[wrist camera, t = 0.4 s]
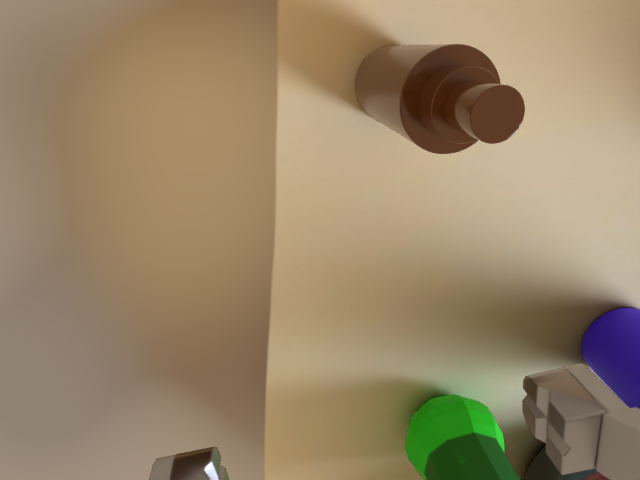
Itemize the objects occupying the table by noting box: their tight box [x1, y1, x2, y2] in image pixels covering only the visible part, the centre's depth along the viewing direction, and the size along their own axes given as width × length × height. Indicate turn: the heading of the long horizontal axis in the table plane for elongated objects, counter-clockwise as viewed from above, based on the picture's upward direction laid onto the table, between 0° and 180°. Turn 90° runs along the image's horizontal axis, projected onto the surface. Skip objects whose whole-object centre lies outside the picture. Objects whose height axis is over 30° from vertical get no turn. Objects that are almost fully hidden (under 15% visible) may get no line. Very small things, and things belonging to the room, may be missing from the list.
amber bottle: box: [355, 44, 525, 154], centre depth 26 cm, size 6×6×17 cm
